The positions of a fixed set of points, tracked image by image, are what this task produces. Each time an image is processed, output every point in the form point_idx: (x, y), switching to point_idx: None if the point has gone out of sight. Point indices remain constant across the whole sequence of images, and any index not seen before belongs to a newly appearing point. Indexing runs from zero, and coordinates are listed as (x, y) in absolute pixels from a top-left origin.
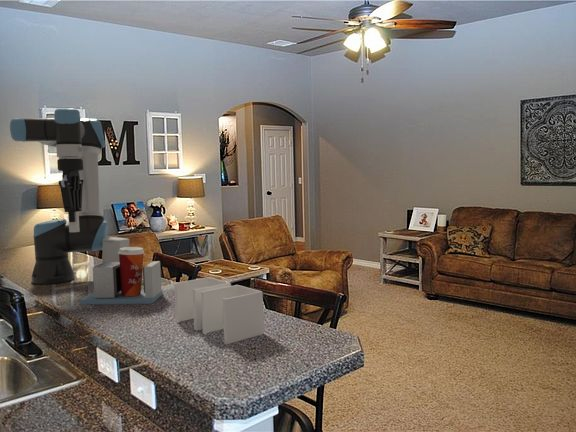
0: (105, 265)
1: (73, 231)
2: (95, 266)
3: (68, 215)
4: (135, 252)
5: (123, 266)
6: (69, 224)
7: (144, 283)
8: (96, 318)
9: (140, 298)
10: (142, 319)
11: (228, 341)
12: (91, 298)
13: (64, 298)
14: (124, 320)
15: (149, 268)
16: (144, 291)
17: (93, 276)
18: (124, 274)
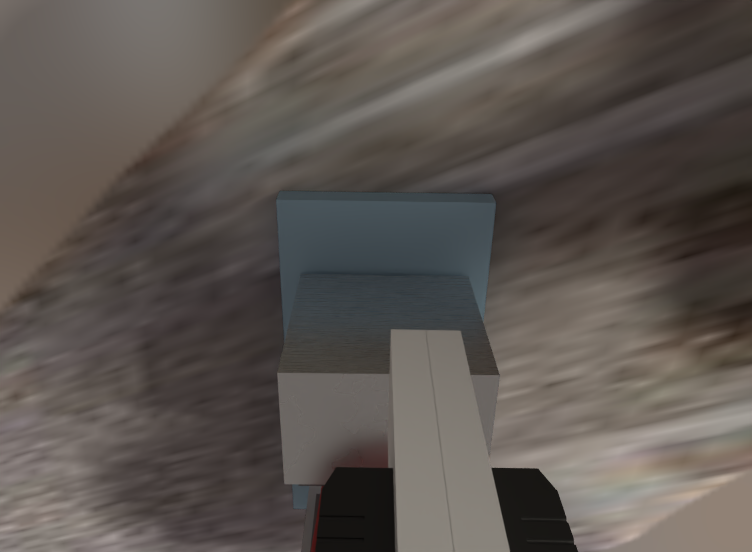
0: (354, 424)
1: (389, 387)
2: (319, 376)
3: (396, 543)
4: None
5: (317, 525)
6: (392, 412)
7: (311, 534)
8: (48, 359)
9: None
10: (66, 513)
11: None
12: (308, 253)
13: (440, 25)
14: (42, 463)
15: None
16: (316, 500)
17: (286, 338)
18: (321, 489)
